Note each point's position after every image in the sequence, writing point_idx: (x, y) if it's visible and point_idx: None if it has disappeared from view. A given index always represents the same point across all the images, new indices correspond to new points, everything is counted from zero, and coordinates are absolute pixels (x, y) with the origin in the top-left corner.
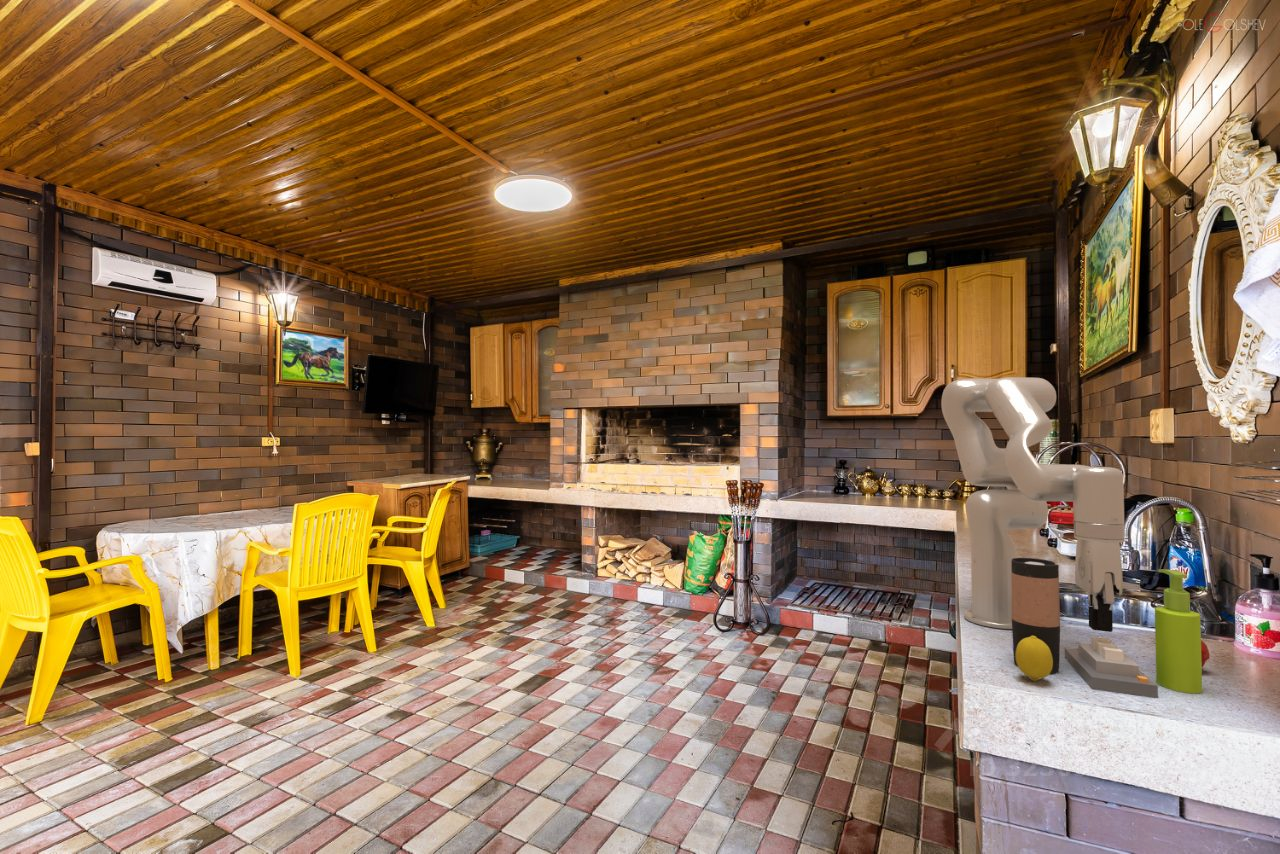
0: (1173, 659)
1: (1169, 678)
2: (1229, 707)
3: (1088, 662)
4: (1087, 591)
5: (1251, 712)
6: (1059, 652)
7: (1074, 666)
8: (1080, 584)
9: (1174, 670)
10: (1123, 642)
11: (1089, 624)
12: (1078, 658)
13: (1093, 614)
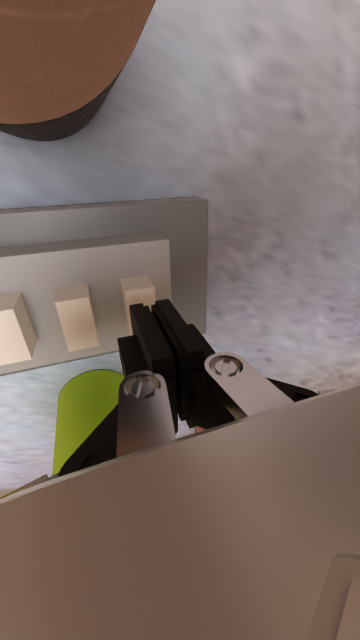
0: (57, 451)
1: (64, 403)
2: (14, 453)
3: (48, 243)
4: (14, 504)
5: (11, 474)
6: (5, 132)
7: (92, 204)
8: (311, 437)
9: (57, 428)
10: (339, 338)
11: (160, 303)
12: (100, 221)
13: (144, 348)
